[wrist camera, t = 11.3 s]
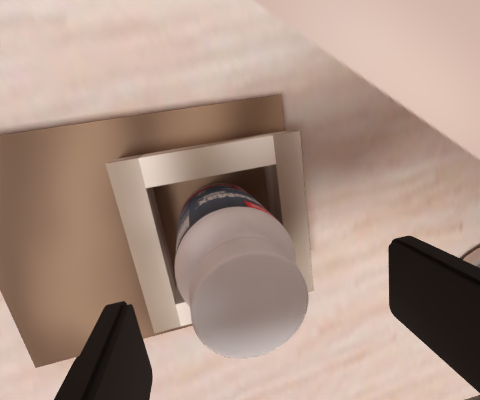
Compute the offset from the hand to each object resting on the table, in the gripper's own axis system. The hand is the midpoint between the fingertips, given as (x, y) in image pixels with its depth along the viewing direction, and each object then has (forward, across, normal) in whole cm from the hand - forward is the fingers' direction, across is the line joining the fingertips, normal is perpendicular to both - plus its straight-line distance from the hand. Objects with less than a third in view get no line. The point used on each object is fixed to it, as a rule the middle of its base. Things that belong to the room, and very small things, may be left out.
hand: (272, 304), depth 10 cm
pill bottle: (+8, +1, -1) cm, 9 cm away
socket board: (+10, +5, -1) cm, 11 cm away
